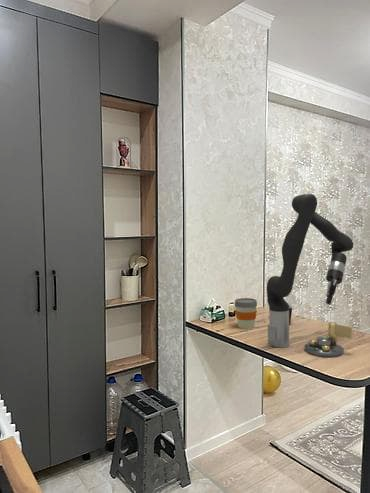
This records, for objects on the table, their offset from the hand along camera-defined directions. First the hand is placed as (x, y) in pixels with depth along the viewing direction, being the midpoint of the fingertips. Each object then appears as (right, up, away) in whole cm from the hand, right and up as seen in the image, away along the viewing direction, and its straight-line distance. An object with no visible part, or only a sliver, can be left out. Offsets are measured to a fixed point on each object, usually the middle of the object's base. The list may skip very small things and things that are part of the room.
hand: (328, 303), depth 185 cm
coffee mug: (-10, -18, +41) cm, 46 cm away
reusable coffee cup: (-33, -19, +36) cm, 53 cm away
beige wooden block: (+3, -19, -7) cm, 20 cm away
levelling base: (-4, -21, -6) cm, 22 cm away
